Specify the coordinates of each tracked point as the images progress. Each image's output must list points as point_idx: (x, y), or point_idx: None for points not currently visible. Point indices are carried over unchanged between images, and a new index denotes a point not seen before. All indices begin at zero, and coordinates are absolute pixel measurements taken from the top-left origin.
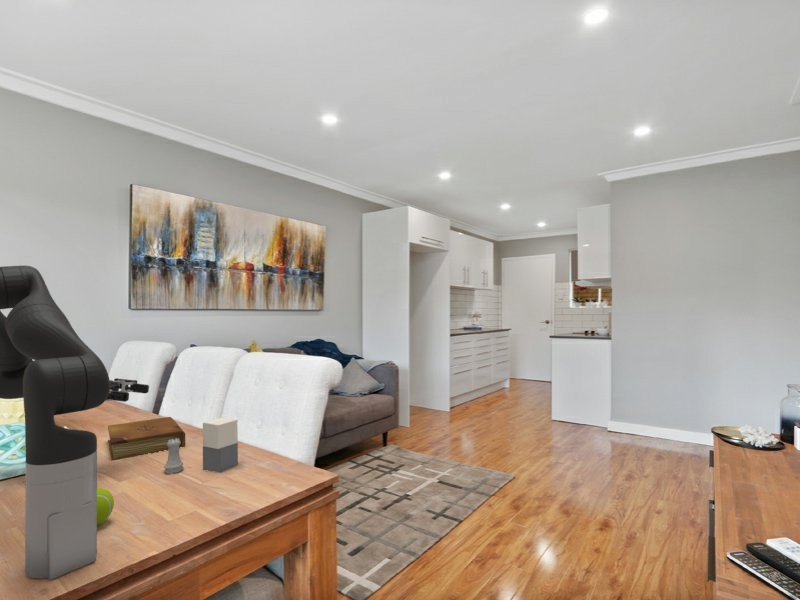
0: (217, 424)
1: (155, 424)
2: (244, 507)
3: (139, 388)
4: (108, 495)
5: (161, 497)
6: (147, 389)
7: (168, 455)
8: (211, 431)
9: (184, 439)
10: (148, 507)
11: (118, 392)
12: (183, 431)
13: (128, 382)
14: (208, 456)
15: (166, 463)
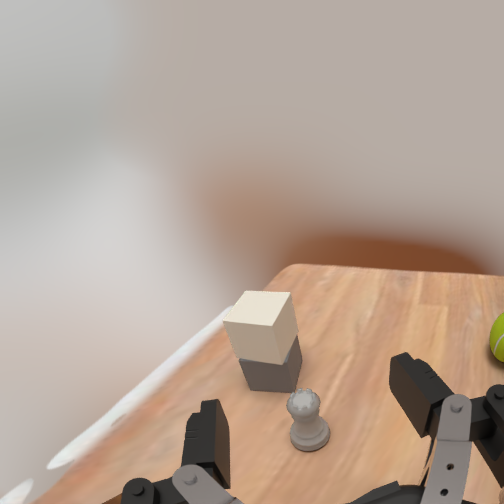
0: (285, 296)
1: None
2: (388, 278)
3: (223, 444)
4: (501, 314)
5: None
6: (221, 410)
7: (316, 423)
8: (286, 318)
9: None
10: (444, 348)
11: (427, 378)
12: (111, 499)
13: (199, 501)
14: (293, 363)
15: (315, 439)
